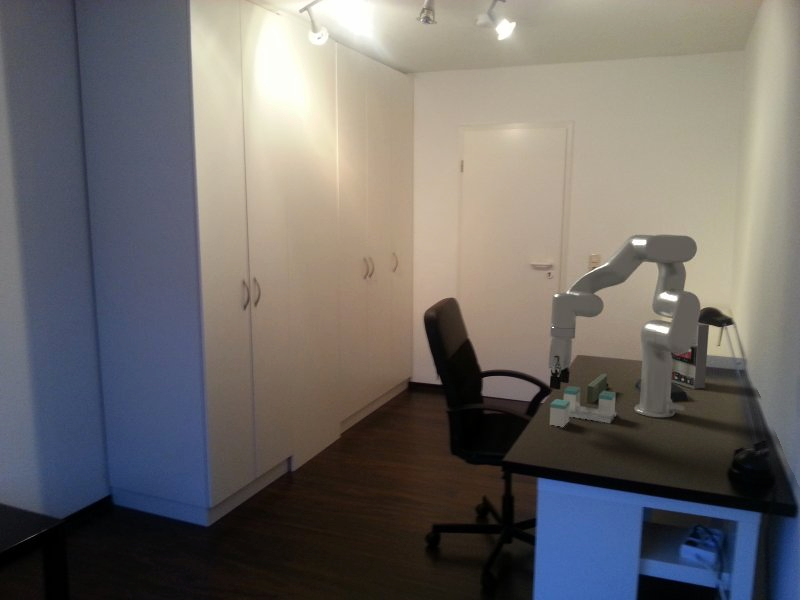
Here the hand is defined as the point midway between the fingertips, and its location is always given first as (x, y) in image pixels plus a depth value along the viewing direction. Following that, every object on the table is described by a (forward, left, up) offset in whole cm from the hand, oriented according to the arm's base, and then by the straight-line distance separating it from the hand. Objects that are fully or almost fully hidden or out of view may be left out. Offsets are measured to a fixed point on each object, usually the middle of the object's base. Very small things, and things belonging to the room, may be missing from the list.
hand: (559, 385), depth 203 cm
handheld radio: (-4, -41, -13) cm, 43 cm away
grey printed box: (-30, -74, -13) cm, 81 cm away
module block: (0, 0, -13) cm, 13 cm away
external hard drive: (-24, -55, -13) cm, 61 cm away
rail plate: (-6, -14, -13) cm, 20 cm away
